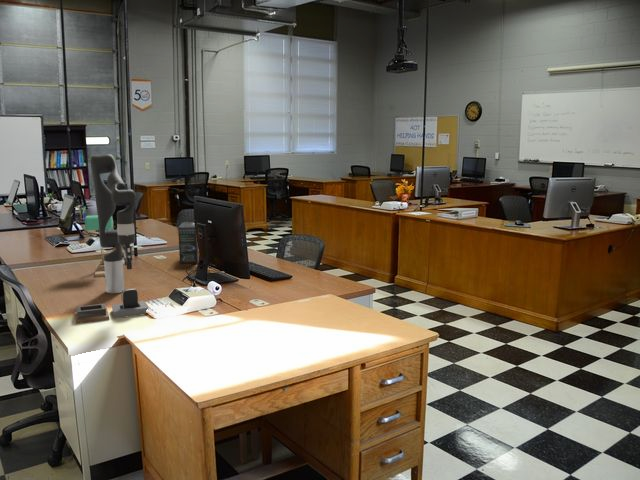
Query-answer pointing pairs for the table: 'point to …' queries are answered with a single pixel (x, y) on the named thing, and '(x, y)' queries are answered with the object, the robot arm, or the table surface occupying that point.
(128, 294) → the battery
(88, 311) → the tray
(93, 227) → the banker's lamp
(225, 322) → the table surface
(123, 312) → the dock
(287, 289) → the table surface
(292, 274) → the table surface
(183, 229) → the computer tower
